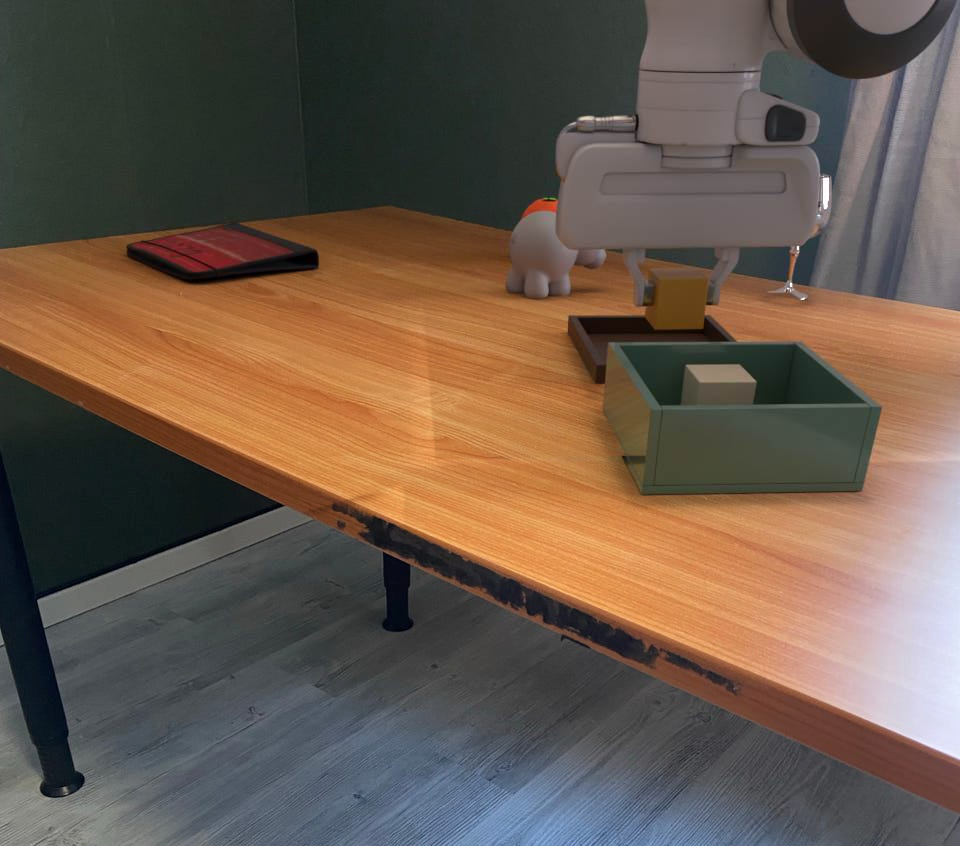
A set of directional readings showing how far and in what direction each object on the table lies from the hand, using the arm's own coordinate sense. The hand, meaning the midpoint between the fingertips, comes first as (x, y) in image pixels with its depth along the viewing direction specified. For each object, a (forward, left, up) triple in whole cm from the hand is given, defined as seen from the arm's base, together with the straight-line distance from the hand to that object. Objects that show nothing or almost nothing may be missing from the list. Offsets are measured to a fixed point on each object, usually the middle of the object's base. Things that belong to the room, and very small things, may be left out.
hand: (675, 304), depth 82 cm
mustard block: (0, 0, -2) cm, 2 cm away
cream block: (0, +15, -5) cm, 16 cm away
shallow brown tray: (0, -3, -6) cm, 6 cm away
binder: (+44, -45, -6) cm, 63 cm away
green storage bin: (0, +18, -6) cm, 19 cm away
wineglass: (-20, -27, -6) cm, 34 cm away
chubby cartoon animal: (+5, -28, -6) cm, 29 cm away
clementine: (+4, -47, -6) cm, 48 cm away
